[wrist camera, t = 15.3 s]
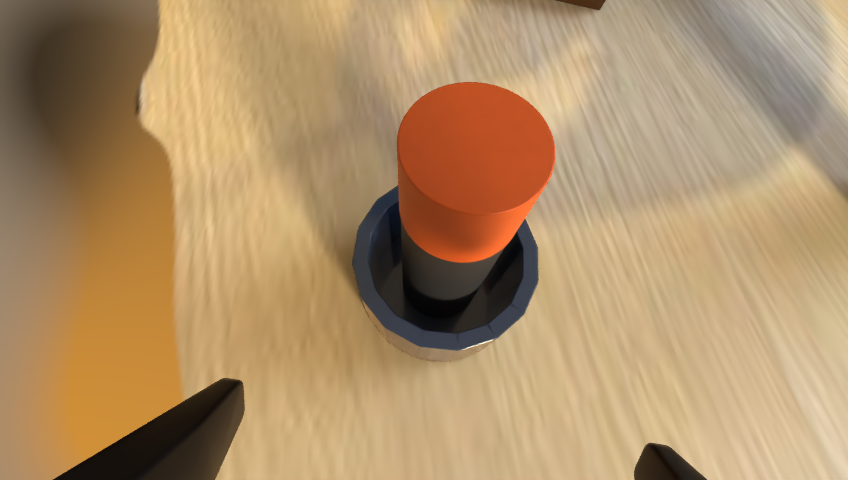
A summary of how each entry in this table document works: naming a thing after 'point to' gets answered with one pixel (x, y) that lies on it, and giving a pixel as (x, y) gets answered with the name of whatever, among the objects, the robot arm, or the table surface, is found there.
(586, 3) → the pan flute
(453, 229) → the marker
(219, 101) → the table surface
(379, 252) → the pen cup
